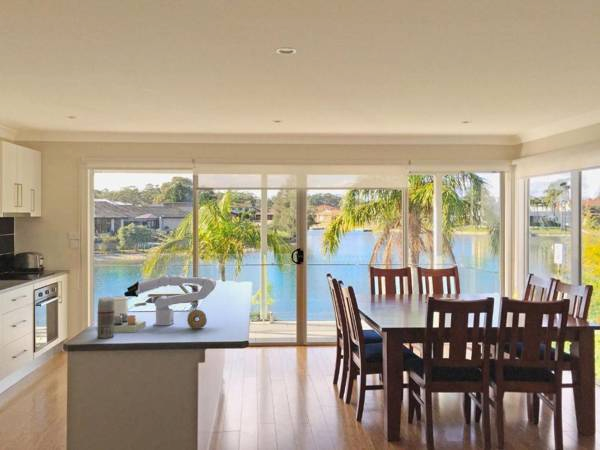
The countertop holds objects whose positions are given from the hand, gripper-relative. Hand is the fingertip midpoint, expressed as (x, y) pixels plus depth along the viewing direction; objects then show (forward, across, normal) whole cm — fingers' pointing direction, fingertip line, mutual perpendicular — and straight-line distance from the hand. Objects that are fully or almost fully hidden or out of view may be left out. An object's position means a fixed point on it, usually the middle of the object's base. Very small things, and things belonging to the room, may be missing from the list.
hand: (126, 292), depth 307 cm
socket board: (+1, +17, +15) cm, 23 cm away
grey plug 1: (+4, +19, +10) cm, 22 cm away
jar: (+11, +1, +16) cm, 20 cm away
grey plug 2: (+3, +12, +12) cm, 17 cm away
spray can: (+6, +35, +9) cm, 37 cm away
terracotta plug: (-3, +19, +13) cm, 23 cm away
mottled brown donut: (-35, +19, +26) cm, 47 cm away
